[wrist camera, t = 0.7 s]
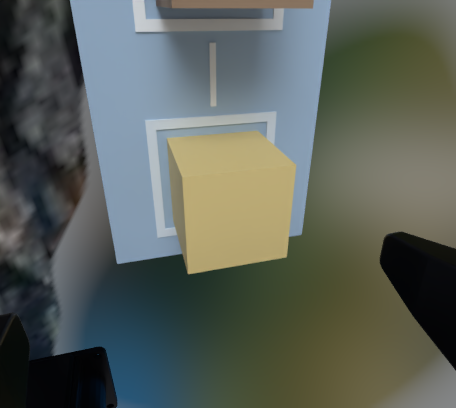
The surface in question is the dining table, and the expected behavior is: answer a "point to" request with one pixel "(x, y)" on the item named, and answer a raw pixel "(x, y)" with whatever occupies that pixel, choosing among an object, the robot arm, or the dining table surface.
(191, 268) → the ochre block
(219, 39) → the blueprint sheet
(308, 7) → the walnut cube
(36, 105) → the dining table surface
